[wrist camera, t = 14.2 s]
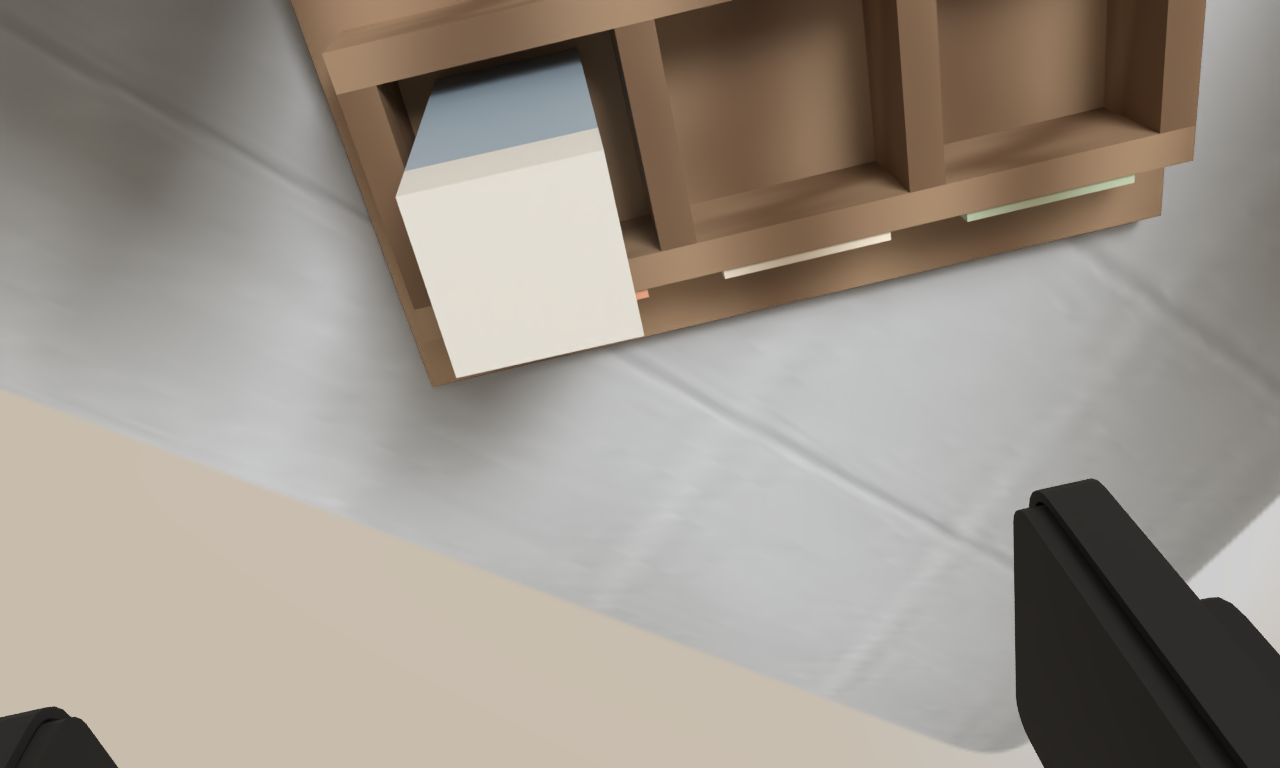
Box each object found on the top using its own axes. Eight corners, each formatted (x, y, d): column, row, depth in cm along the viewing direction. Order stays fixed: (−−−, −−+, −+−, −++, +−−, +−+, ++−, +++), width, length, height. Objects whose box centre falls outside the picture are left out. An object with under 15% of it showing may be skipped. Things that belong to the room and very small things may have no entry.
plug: (577, 47, 27) (603, 150, 18) (607, 184, 29) (644, 335, 20) (435, 79, 27) (395, 197, 18) (475, 214, 29) (456, 377, 20)
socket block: (1172, -303, 25) (1275, -323, 22) (1143, 204, 32) (1218, 250, 29) (269, -85, 26) (229, -71, 22) (434, 371, 33) (424, 436, 29)
